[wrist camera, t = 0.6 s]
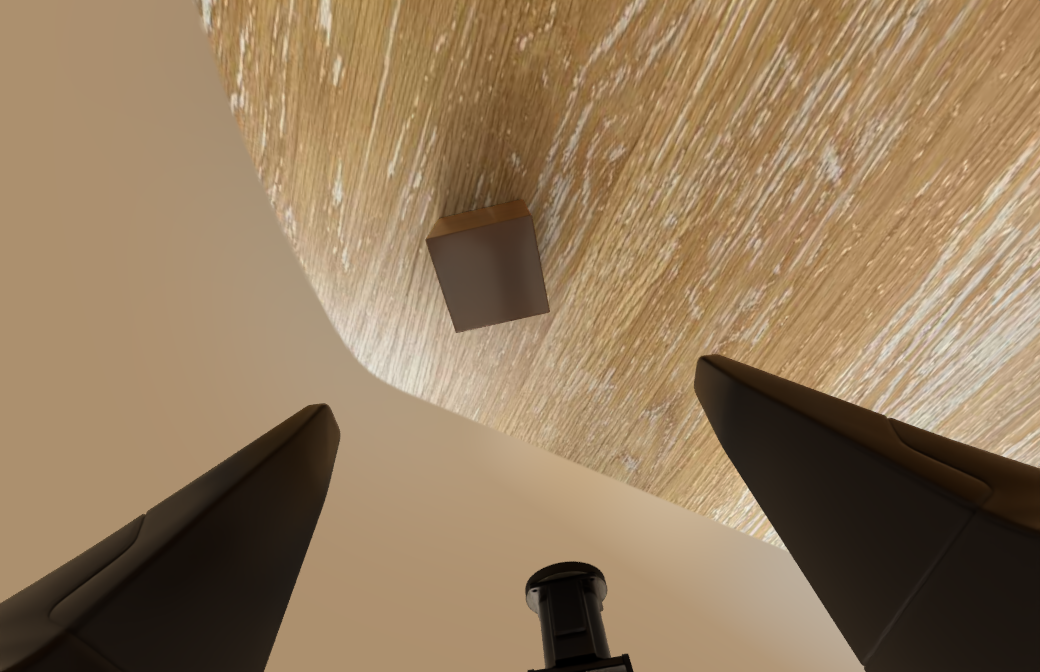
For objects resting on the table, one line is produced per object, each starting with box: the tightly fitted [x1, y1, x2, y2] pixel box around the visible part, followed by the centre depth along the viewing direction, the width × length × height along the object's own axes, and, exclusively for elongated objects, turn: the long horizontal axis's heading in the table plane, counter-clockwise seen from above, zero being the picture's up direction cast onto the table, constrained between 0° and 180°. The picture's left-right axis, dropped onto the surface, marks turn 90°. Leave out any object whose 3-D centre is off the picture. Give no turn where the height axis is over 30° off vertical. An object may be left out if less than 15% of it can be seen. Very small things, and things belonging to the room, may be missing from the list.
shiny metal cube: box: [426, 199, 550, 333], centre depth 18 cm, size 4×4×4 cm
